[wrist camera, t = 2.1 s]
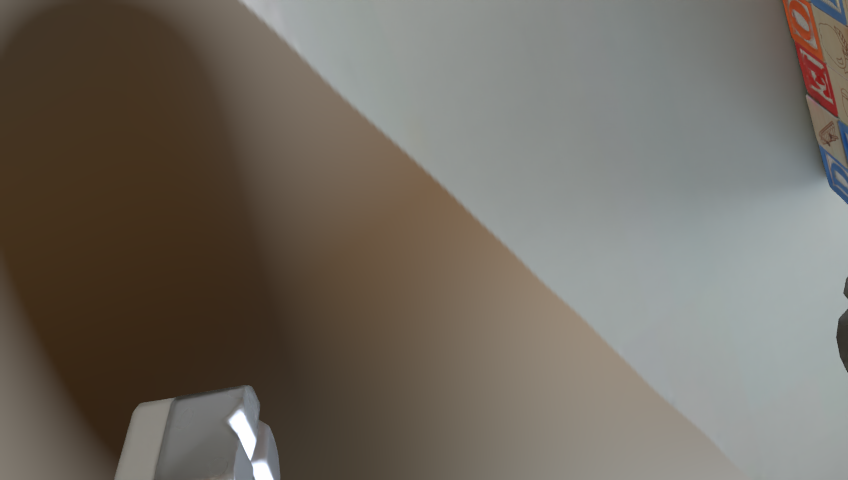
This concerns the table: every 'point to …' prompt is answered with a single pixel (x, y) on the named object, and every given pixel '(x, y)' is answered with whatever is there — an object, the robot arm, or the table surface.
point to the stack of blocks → (825, 78)
